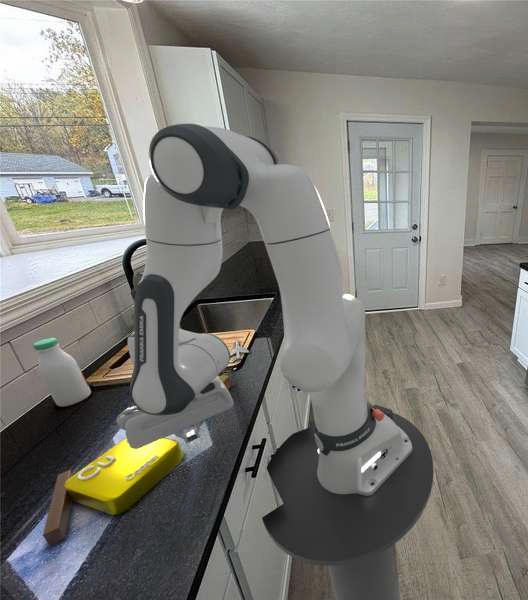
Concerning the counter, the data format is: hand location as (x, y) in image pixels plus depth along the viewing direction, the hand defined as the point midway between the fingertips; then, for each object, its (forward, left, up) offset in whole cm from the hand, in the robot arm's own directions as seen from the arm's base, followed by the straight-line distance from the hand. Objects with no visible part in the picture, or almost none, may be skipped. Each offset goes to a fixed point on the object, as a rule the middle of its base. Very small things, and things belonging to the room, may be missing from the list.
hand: (192, 439), depth 74 cm
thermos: (-1, -44, -3) cm, 45 cm away
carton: (-4, -18, -3) cm, 18 cm away
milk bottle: (+26, -48, -3) cm, 55 cm away
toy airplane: (-19, -42, -3) cm, 46 cm away
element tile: (+12, -1, -3) cm, 13 cm away
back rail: (+23, 0, -3) cm, 23 cm away
